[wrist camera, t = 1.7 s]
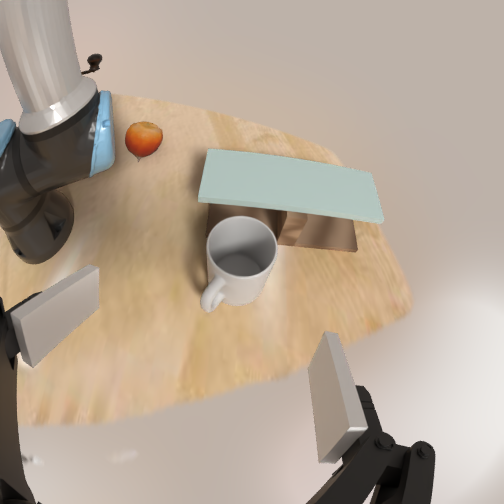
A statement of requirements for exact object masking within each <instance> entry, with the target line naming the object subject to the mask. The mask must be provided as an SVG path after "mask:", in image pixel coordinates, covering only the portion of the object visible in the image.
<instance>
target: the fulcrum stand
mask: <svg viewBox="0 0 504 504" xmlns="http://www.w3.org/2000/svg"><path fill="white" fill-rule="evenodd" d="M233 216H248V217H252V218H255V219H257V220H259V221H261V222H263V223H264V224H265V225H266V226H268V227H269V228H270V230H271V231H272V232H273V234H274V236H275V238H276V241H277V245H287V246H298V247H308V248H318V249H328V250H338V251H348V252H356V251H357V250H358V248H357V242H356V235H355V230H354V224H353V220H352V219H345V218H338V217H331V216H324V215H316V214H308V213H301V212H292V211H284V210H275V209H266V208H257V207H247V206H237V205H226V204H215V203H210V210H209V216H208V223H207V230H206V238H208V236H209V234H210V232H211V230H212V229H213V228H214V226H216V225H217V224H218V223H219V222H220V221H222V220H224V219H227V218H229V217H233Z"/></svg>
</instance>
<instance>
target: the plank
mask: <svg viewBox="0 0 504 504" xmlns="http://www.w3.org/2000/svg"><path fill="white" fill-rule="evenodd" d="M198 202H203V203H215V204H226V205H237V206H247V207H257V208H266V209H275V210H284V211H292V212H301V213H308V214H316V215H324V216H331V217H338V218H345V219H352V220H358V221H365V222H371V223H378V224H381V223H382V222H383V221H384V217H383V213H382V209H381V205H380V201H379V197H378V194H377V190H376V187H375V184H374V180H373V177H372V174H371V173H369V172H365V171H360V170H355V169H351V168H346V167H341V166H336V165H331V164H326V163H320V162H315V161H309V160H303V159H296V158H290V157H283V156H276V155H268V154H260V153H251V152H242V151H232V150H220V149H208V152H207V157H206V161H205V166H204V170H203V175H202V180H201V185H200V189H199V194H198Z"/></svg>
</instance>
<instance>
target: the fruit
mask: <svg viewBox="0 0 504 504" xmlns="http://www.w3.org/2000/svg"><path fill="white" fill-rule="evenodd" d="M162 139H163V134H162V130H161V129H160V128H158V126H157V125H155V124H153V123H149V122H138V123H134V124H132V125H131V126H130V127H129V129H128V130H127V132H126V137H125V144H126V147H127V148H128V150H129V151H130V152H132V153H133V154H134V155H135V156H136V157H137V158H138V162H139V160H140V158H141V157H145V156H148V155H150V154H152V153H153V152H154V151H156V150H157V149H158V147H159V145H160V143H161V142H162Z"/></svg>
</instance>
